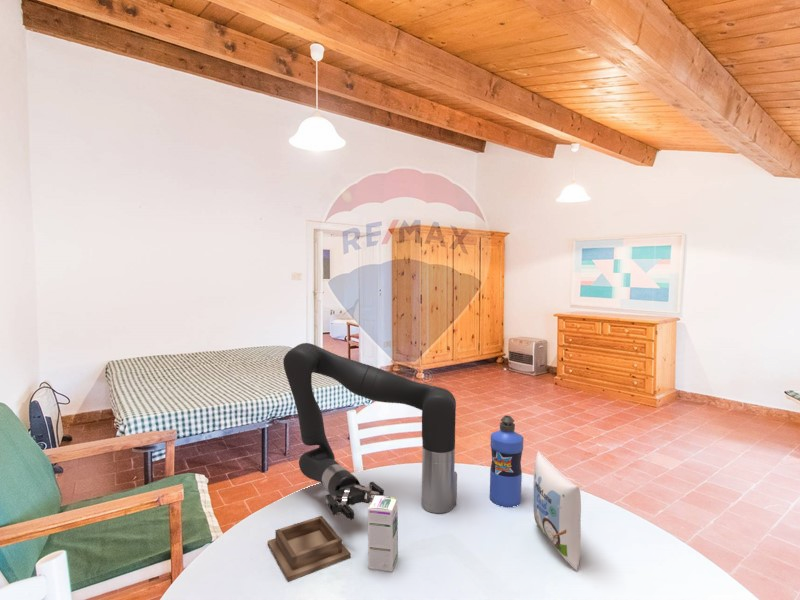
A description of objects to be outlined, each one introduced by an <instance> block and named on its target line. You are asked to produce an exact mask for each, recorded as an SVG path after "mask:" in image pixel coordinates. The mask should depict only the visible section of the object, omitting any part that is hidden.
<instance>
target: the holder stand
mask: <svg viewBox="0 0 800 600" xmlns="http://www.w3.org/2000/svg"><path fill="white" fill-rule="evenodd" d="M267 546H268V549H269V550H270V552H271V553H272V556H273V557H274V559H275V560H276V562H277V564H278V566H279V568H280V570H281V572H282V573H283V575H284V577H285V578H286V581H287V583H288V582H291V581H293V580H296V579H298V578H301V577H305V576H307V575H310V574H311V573H315V572H317V571H320V570H322V569H325V568H327V567H330V566H332V565H334V564H338V563H341V562H343V561H345V560H348V559H351V557H352V554H351V552H350V551H349V549H348V548H347V547H346V546H345V545H344V544H343V539H342V538H341V537H340V536H339V534H338V533H337V532H336V531H335V530H334V528H333V527H332V526H331V524H329V522H328V521H327V520H326V519H325V517H324V516H323V515H319V516H315V517H312V518H310V519H307V520H303V521H300V522H297V523H294V524H291V525H288V526H284V527H281V528H278V529H275V538H273V539H270V540H267Z"/></svg>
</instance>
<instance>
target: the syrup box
mask: <svg viewBox="0 0 800 600" xmlns="http://www.w3.org/2000/svg"><path fill="white" fill-rule="evenodd" d="M373 496H374V495H373ZM372 498H373V500H372V502H370V503H369V506H368V508H367V541H368V542H367V543H368V544H367V546H368V547H367V548H368V549H367V551H368V552H367V553H368V554H367V556H368V558H367V559H368V560H367V561H368V569H371V570H375V571H381V572H389V573H393V570H394V568H395V565H396V563H397V561H398V560H397V559H398V556H399V554H398V553H399V548H398V547H399V545H398V543H399V540H398V538H399V535H398V534H399V528H398V525H399V523H398V518H399V517H398V514H399V512H398V510H399V509H398V506H399V505H398V497H394V496H388V495H384V496H376V495H375V496H374V497H372Z"/></svg>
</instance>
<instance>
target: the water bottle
mask: <svg viewBox="0 0 800 600" xmlns="http://www.w3.org/2000/svg"><path fill="white" fill-rule="evenodd" d="M514 422H515V420H514V418H512V416H510V415H504V416H503V417H502V418H501V419H500V423H499V429H500V430H495V431H493V432H491V434H490V450H491V463H490V464H491V465H490V470H489V471H490V472H489V473H490V474H489V500H490V501H492V502H491V503H493V504H494V505H496V506H498V505H499V506H498V507H501V506H503V507H502V508H508V507H511V508H514V507H513V506H516V507H518V506H520V505H521V503H522V481H523V480H522V479H523V476H522V475H523V472H522V471H523V470H522V465H521V464H522V463H521V462H522V455H523V450H524V437H523V436H522V434H519V433H517V432H515V427H516V425H515V423H514ZM520 502H521V503H520ZM519 504H520V505H519ZM517 505H518V506H517Z"/></svg>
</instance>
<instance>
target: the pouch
mask: <svg viewBox="0 0 800 600" xmlns="http://www.w3.org/2000/svg"><path fill="white" fill-rule="evenodd" d="M533 469H534V471H533V498H532V499H533V500H532V501H533V516H534V517H533V518H534V522H535V524H536V525H537V527H538V528H539V529H540V531H542V532H543V534H544V535H545V536H546V538H548V540H549V541H550V543H551V544H552V546H553V547H554V548H555V549H556V550H557V551H558V553H559V554H560V555H561V557H563V559H564V560H565V561H566V563H568V565H570V566H571V567H572V568H573V569H574V570H575V572H578V568H579V565H580V564H579V563H580V555H581V538H582V537H581V535H582V534H581V532H582V531H581V529H582V527H581V524H582V523H581V521H582V520H581V517H582V516H581V513H582V502H581V501H582V500H581V498H582V497H581V489H580V488H579V485H577V484H575V483H574V482H573V481H571V480H570V479H569V478H567V477H566V476H565V475H564V474H563V473H562V472H561V471H560V470H559V469H558V468H557V467H556V466H555V465H553V464H552V462H550V461H549V459H547V458H546V457H545V455H543V454H542V453H541V452H540V451H537V454H536V457H535V462H534V468H533Z"/></svg>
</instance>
